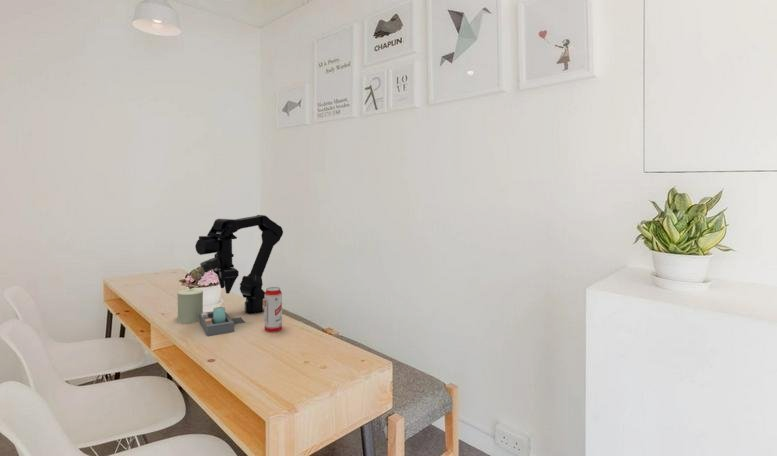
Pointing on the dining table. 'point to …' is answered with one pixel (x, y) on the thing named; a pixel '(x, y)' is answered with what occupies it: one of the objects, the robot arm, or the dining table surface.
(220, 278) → the robot arm
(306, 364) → the dining table surface
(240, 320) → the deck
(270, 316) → the beer can
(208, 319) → the dock
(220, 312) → the plug
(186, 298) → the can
